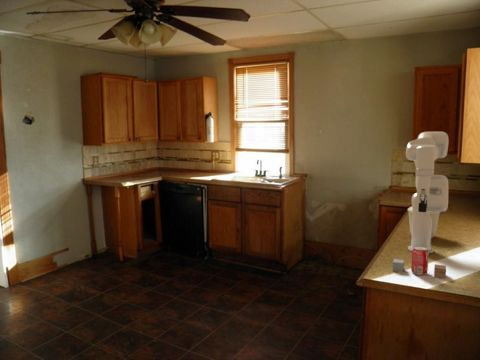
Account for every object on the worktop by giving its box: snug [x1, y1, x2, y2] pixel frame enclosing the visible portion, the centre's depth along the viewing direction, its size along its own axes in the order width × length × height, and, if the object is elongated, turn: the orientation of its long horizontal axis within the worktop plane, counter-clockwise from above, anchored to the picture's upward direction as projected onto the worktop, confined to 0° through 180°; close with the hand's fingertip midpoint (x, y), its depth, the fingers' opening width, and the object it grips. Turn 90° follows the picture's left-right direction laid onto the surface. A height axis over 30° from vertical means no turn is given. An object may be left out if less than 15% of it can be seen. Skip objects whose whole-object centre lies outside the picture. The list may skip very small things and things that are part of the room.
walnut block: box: [433, 263, 447, 280], centre depth 181 cm, size 5×5×5 cm
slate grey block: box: [392, 258, 405, 274], centre depth 189 cm, size 5×5×5 cm
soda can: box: [410, 246, 430, 276], centre depth 184 cm, size 7×7×12 cm
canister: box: [407, 206, 441, 239], centre depth 242 cm, size 18×18×21 cm
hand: (422, 210), depth 185 cm, fingers open, 9 cm apart
